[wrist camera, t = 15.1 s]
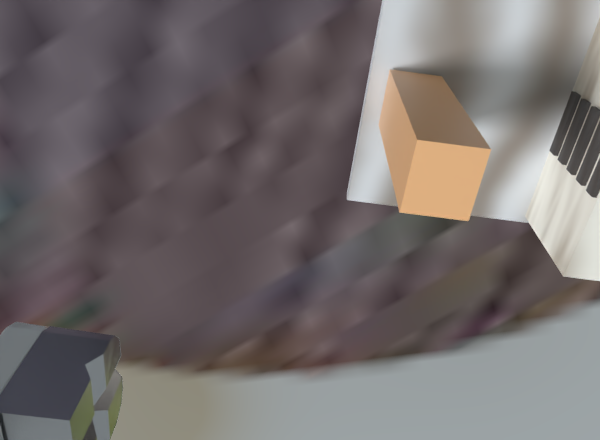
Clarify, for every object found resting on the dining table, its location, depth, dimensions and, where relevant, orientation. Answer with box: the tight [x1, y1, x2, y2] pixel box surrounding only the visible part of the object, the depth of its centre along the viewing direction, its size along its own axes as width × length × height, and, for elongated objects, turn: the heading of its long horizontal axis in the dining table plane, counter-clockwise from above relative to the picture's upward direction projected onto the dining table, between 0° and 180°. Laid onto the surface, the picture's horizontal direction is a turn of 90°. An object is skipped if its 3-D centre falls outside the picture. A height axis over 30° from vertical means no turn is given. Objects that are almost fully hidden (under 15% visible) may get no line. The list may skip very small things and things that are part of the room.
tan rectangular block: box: [379, 69, 491, 221], centre depth 33 cm, size 4×4×13 cm
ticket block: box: [347, 0, 600, 281], centre depth 36 cm, size 22×17×9 cm
